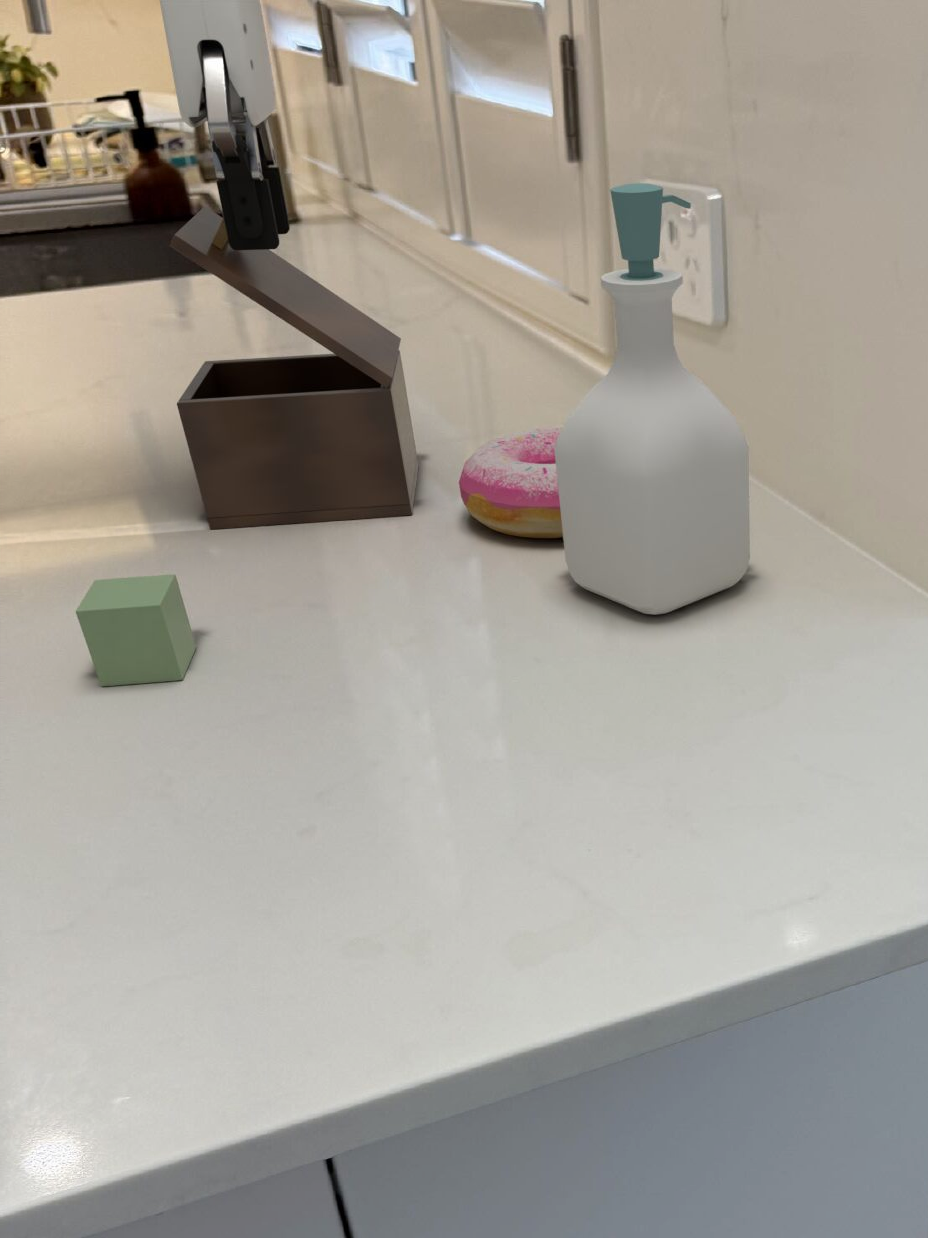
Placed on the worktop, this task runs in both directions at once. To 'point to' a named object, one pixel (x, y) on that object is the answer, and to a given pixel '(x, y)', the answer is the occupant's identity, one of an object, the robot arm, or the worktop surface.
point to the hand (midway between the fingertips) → (260, 238)
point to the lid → (291, 296)
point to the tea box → (298, 441)
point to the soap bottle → (651, 448)
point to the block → (137, 630)
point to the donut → (515, 484)
